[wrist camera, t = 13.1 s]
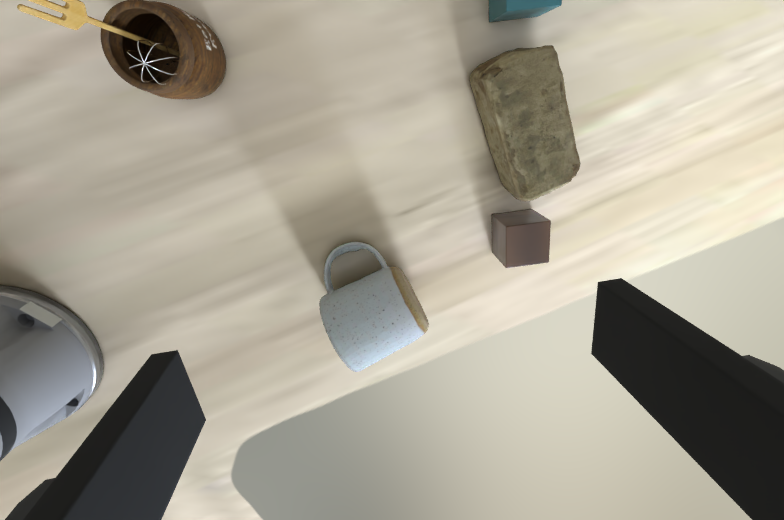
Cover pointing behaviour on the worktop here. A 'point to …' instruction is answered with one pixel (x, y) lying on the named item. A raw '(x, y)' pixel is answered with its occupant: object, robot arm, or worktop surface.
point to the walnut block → (520, 238)
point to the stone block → (527, 120)
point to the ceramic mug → (370, 312)
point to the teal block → (519, 8)
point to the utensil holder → (151, 45)
